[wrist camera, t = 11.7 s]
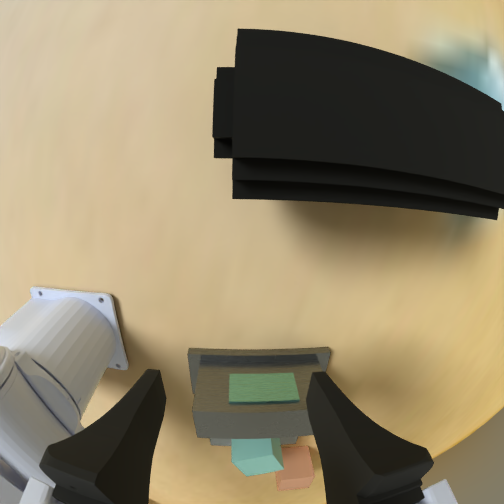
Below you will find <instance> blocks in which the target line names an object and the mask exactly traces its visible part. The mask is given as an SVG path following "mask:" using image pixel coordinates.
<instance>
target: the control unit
mask: <svg viewBox="0 0 504 504" xmlns="http://www.w3.org/2000/svg"><path fill="white" fill-rule="evenodd" d="M330 353H331V352H330V350H329V348H328V347H320V348H302V349H272V350H229V349H199V348H189V349H188V362H189V369H190V377H191V383H192V390H193V394H195V396H194V402H193V409H192V412H193V418H194V423H195V428H196V433H197V437H199V438H217V439H266V438H284V437H297V436H307V435H314V434H313V431H312V427H311V424H310V421H309V417H308V411H307V405H306V397H307V393H308V388H309V384H310V380H311V375H312V372H321V371H325V372H326V369H327V365H328V361H329V357H330Z"/></svg>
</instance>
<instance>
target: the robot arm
mask: <svg viewBox="0 0 504 504" xmlns="http://www.w3.org/2000/svg"><path fill="white" fill-rule="evenodd" d="M41 292H42V293H41ZM30 293H31V296H32V298H31V299H30V300H29V301H28V302H27V303H25V304H24V305H23V306H22V307H21V308H20V309H19V310H17V311H16V312H15V313H14V314H13V315H12V316H11V317H10V318H8V319H7V320H6V321H5V322H4V323H3V324H2V325H1V326H0V504H148V501H149V484H150V474H151V466H152V458H153V454H154V449H155V446H156V442H157V438H158V435H159V431H160V428H161V424H162V421H163V417H164V411H165V405H166V395H165V390H164V386H163V382H162V378H161V373H160V370H152V369H147V370H146V371H145V373H144V374H143V375H142V376H141V377H140V379H139V380H138V381H137V382H136V383H135V384H134V386H133V387H132V388H131V389H130V390H129V391H128V392H127V393H126V395H125V396H124V397H123V398H122V399H121V400H120V401H119V402H118V403H117V404H116V405H115V406H114V407H113V408H111V409H110V410H109V411H108V412H107V413H106V414H105V415H103V416H102V417H101V418H100V419H98V420H97V421H95V422H94V423H93V424H91V425H90V426H88V427H87V428H85V429H84V427H83V426H82V425H81V423H80V420H81V418H82V416H83V414H84V412H85V410H86V408H87V405H88V403H89V401H90V399H91V397H92V395H93V393H94V391H95V389H96V388H97V386H98V384H99V382H100V380H101V378H102V376H103V374H104V372H105V370H106V368H107V367H108V368H114V369H120V370H127V369H128V367H129V364H128V360H127V357H126V353H125V349H124V345H123V341H122V337H121V333H120V329H119V325H118V320H117V316H116V311H115V306H114V301H113V298H112V296H111V295H110V294H107V293H95V292H84V291H73V290H63V289H53V288H44V287H35V286H33V287H32V288H31V289H30ZM100 297H101V298H103V300H104V301H102V300H101V298H100ZM118 364H119V365H118ZM306 405H307V411H308V417H309V421H310V424H311V427H312V431H313V434H314V437H315V440H316V444H317V447H318V450H319V454H320V458H321V464H322V470H323V476H324V483H325V492H326V501H327V504H458V503H457V501H456V499H455V496H454V494H453V492H452V490H451V488H450V486H449V484H448V482H447V480H446V479H443V480H441V481H439V482H437V483H435V484H433V485H431V486H429V487H427V488H425V489H424V490H421V488H420V486H421V485H422V481H421V478H422V477H423V476H424V475H425V474H426V473H427V472H428V471H429V470H430V469H431V468H432V466H433V464H434V462H433V460H432V458H431V456H430V454H429V452H428V450H427V449H426V448H424V447H421V446H418V445H416V444H413V443H410V442H408V441H406V440H404V439H402V438H400V437H398V436H396V435H394V434H392V433H391V432H389V431H387V430H386V429H384V428H382V427H381V426H379V425H378V424H376V423H375V422H374V421H372V420H371V419H370V418H369V417H367V416H366V415H365V414H364V413H363V412H362V411H360V410H359V409H358V408H357V407H356V406H355V405H354V404H353V403H352V402H351V401H350V400H349V399H348V398H347V397H346V396H345V395H344V393H343V392H342V391H341V390H340V389H339V388H338V387H337V385H336V384H335V383H334V382H333V381H332V380H331V378H330V377H329V376H328V375H327V373H326V372H325V371H321V372H312V375H311V380H310V384H309V388H308V393H307V397H306Z"/></svg>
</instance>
